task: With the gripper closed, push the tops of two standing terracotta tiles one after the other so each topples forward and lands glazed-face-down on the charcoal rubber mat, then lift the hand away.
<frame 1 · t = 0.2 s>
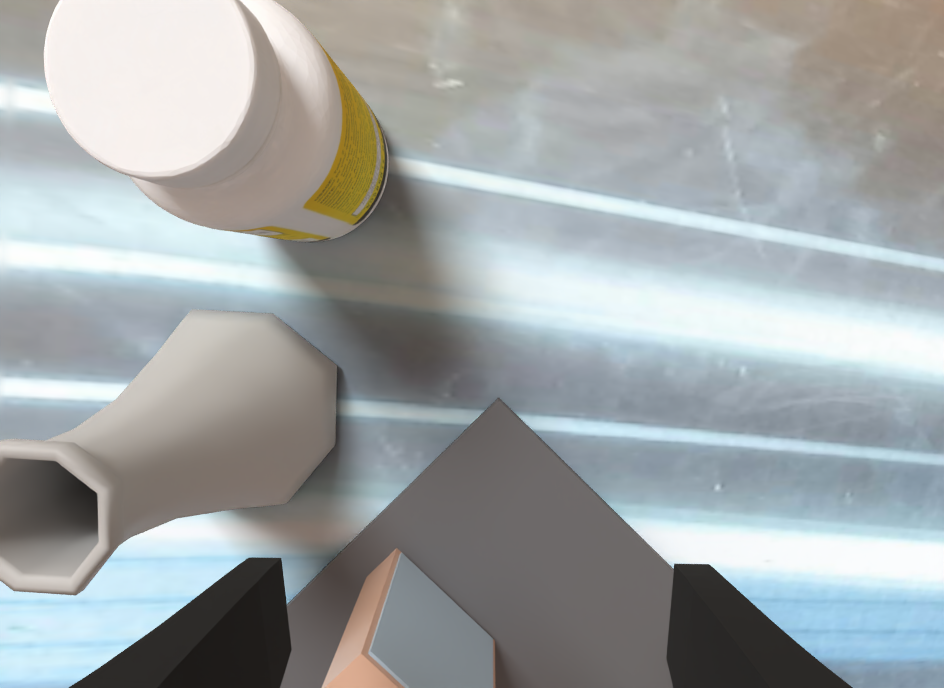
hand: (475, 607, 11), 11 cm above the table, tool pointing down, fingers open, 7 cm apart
flask: (245, 404, 22), on the table
mat: (517, 674, 23), on the table
tile b: (430, 609, 22), resting on mat
supplement bottle: (313, 163, 21), on the table
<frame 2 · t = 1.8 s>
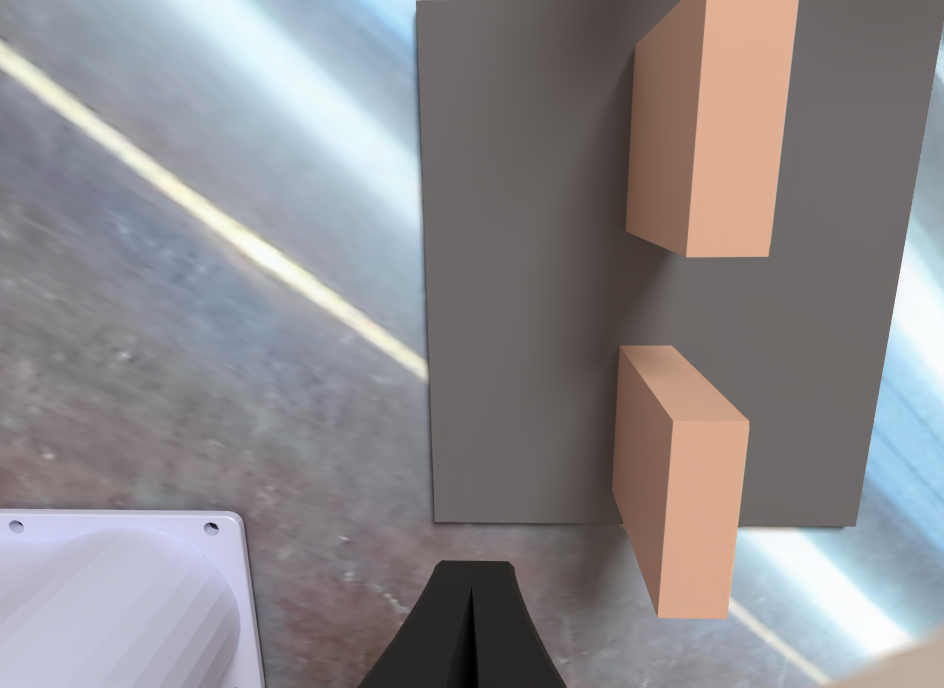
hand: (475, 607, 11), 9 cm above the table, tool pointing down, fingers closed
mat: (654, 287, 19), on the table
tile b: (658, 141, 17), resting on mat
tile a: (640, 420, 19), resting on mat
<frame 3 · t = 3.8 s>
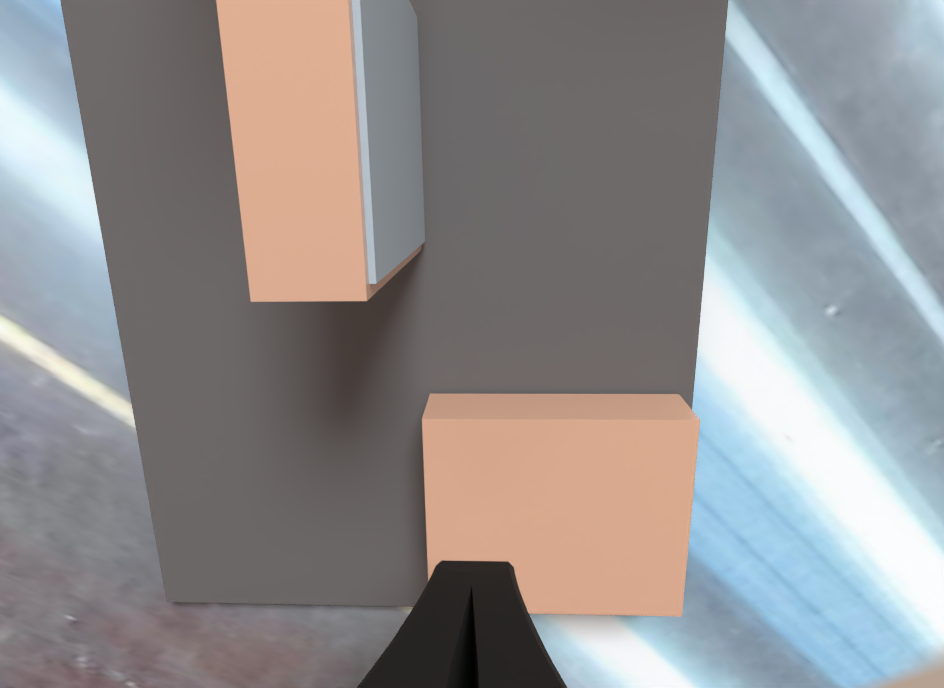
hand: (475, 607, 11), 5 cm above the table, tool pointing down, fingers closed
mat: (404, 319, 15), on the table
tile b: (381, 135, 13), resting on mat
tile a: (429, 501, 15), point 1 cm above the table, tilted 90°, touching mat
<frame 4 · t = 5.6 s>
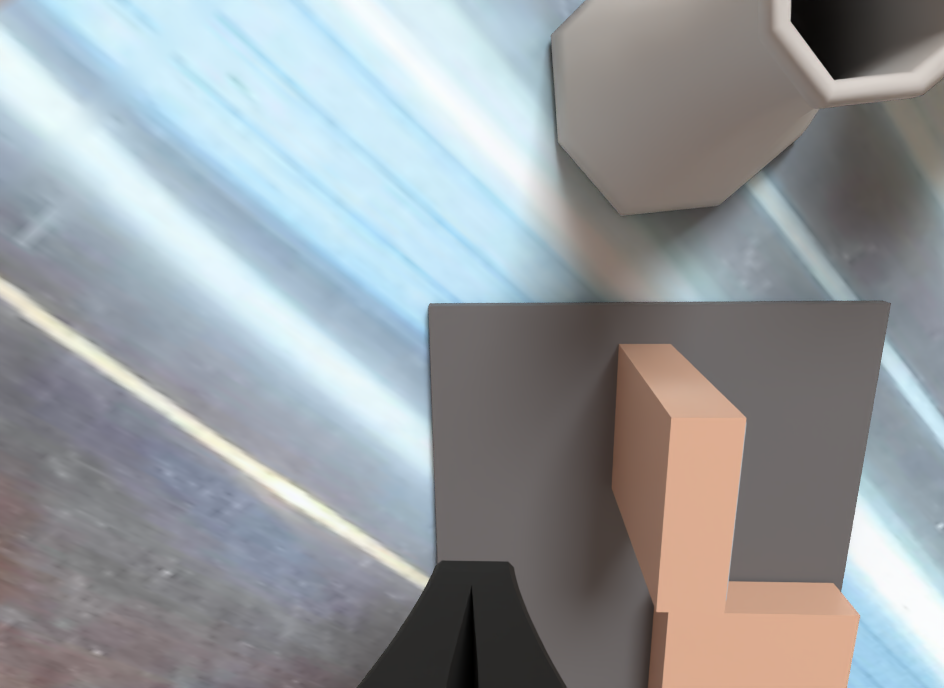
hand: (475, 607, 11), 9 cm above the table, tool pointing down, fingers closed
flask: (672, 88, 17), on the table
mat: (637, 527, 21), on the table
tile b: (640, 418, 20), resting on mat
tile a: (657, 657, 21), point 1 cm above the table, tilted 90°, touching mat
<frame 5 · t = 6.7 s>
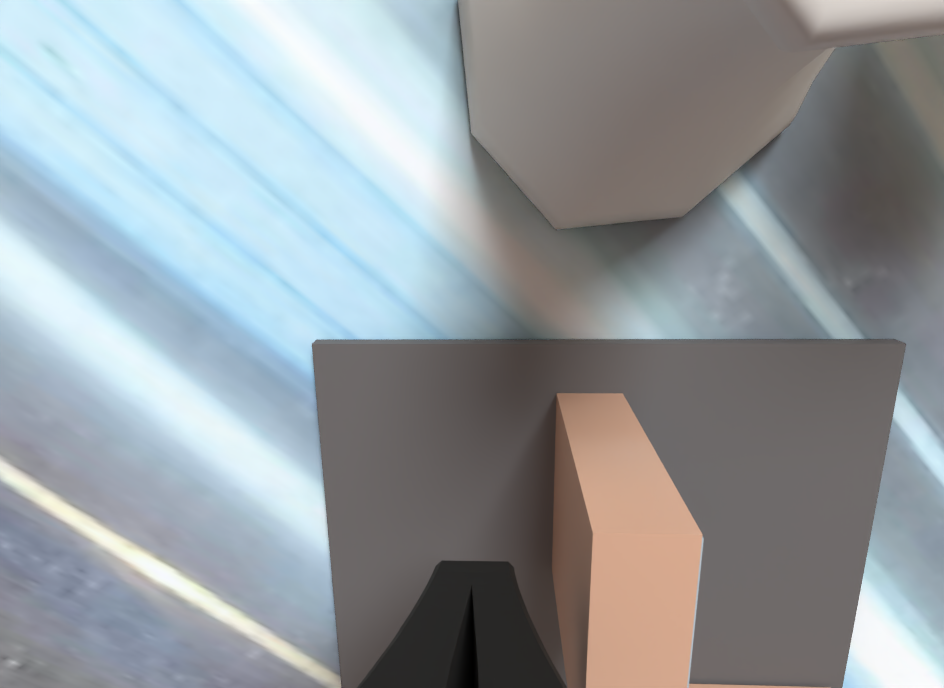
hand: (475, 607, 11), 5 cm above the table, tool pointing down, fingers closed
flask: (621, 62, 13), on the table
mat: (587, 615, 17), on the table
tile b: (585, 485, 15), resting on mat
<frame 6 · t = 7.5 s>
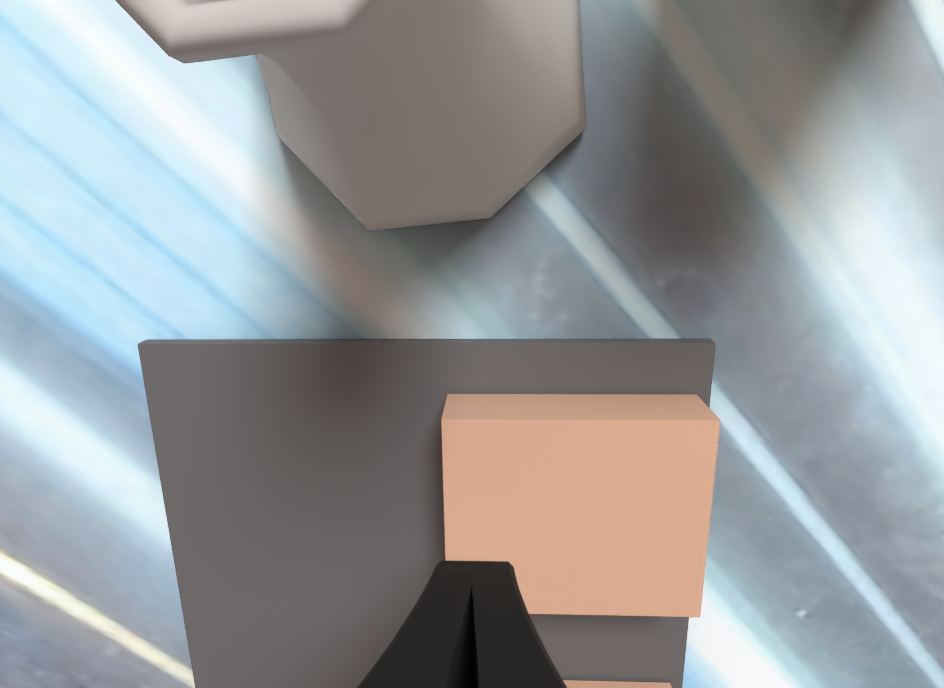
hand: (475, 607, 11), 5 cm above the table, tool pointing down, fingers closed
flask: (424, 66, 14), on the table
mat: (432, 612, 17), on the table
tile b: (447, 502, 15), point 1 cm above the table, tilted 90°, touching mat
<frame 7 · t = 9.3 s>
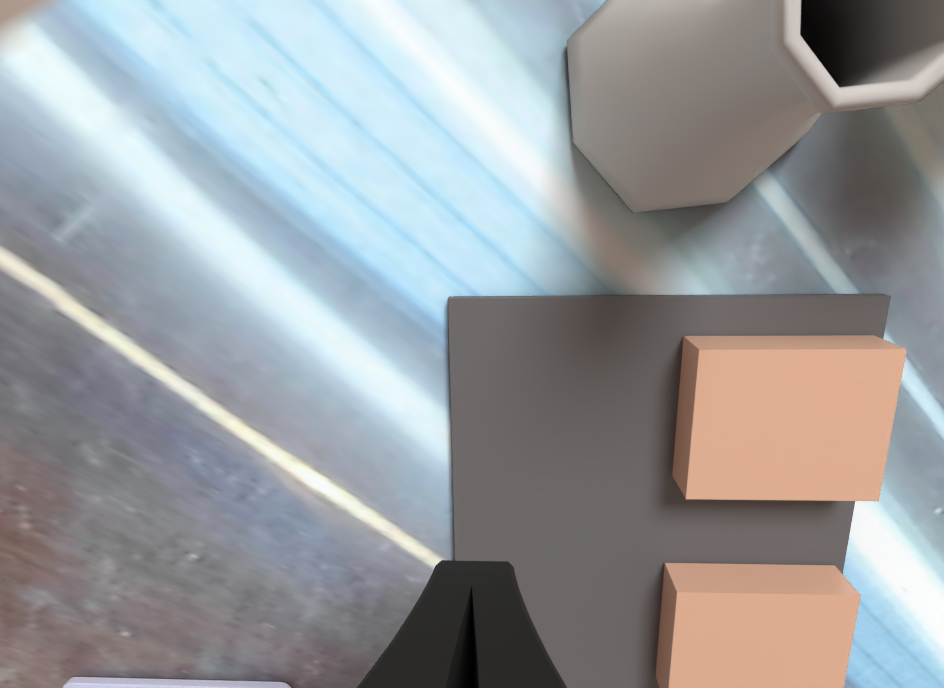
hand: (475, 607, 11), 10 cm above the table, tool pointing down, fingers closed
flask: (682, 90, 18), on the table
mat: (646, 512, 22), on the table
tile b: (684, 417, 19), point 1 cm above the table, tilted 90°, touching mat
tile a: (665, 636, 22), point 1 cm above the table, tilted 90°, touching mat
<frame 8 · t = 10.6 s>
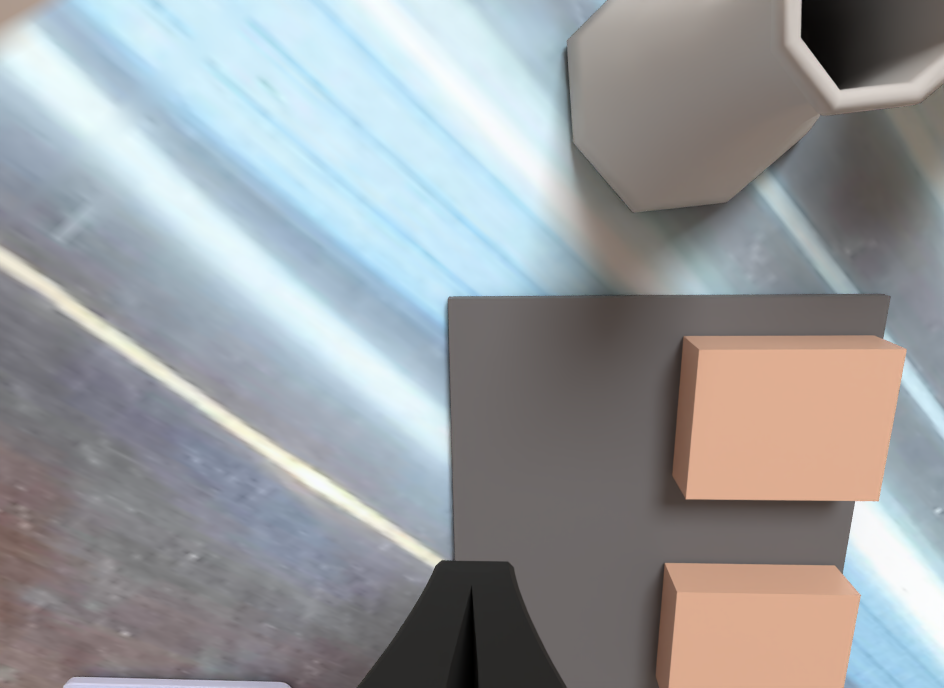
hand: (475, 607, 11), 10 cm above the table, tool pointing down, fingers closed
flask: (682, 90, 18), on the table
mat: (646, 512, 22), on the table
tile b: (684, 417, 19), point 1 cm above the table, tilted 90°, touching mat
tile a: (665, 636, 22), point 1 cm above the table, tilted 90°, touching mat
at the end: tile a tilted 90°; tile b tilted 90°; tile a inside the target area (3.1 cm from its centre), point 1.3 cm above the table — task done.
